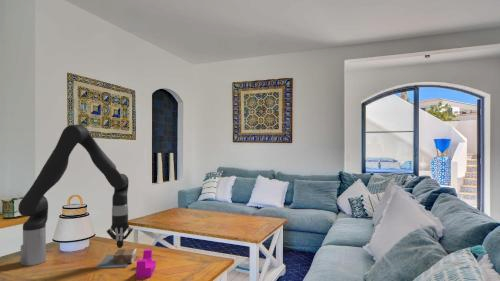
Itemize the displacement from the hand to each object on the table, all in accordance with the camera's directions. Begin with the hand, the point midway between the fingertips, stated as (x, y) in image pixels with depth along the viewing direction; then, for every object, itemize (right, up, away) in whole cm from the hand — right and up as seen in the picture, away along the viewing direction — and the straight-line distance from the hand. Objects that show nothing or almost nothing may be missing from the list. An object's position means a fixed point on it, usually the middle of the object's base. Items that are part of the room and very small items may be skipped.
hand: (120, 247), depth 149 cm
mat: (-2, -7, 0) cm, 7 cm away
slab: (-2, -5, 0) cm, 5 cm away
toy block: (+18, -8, -11) cm, 22 cm away
